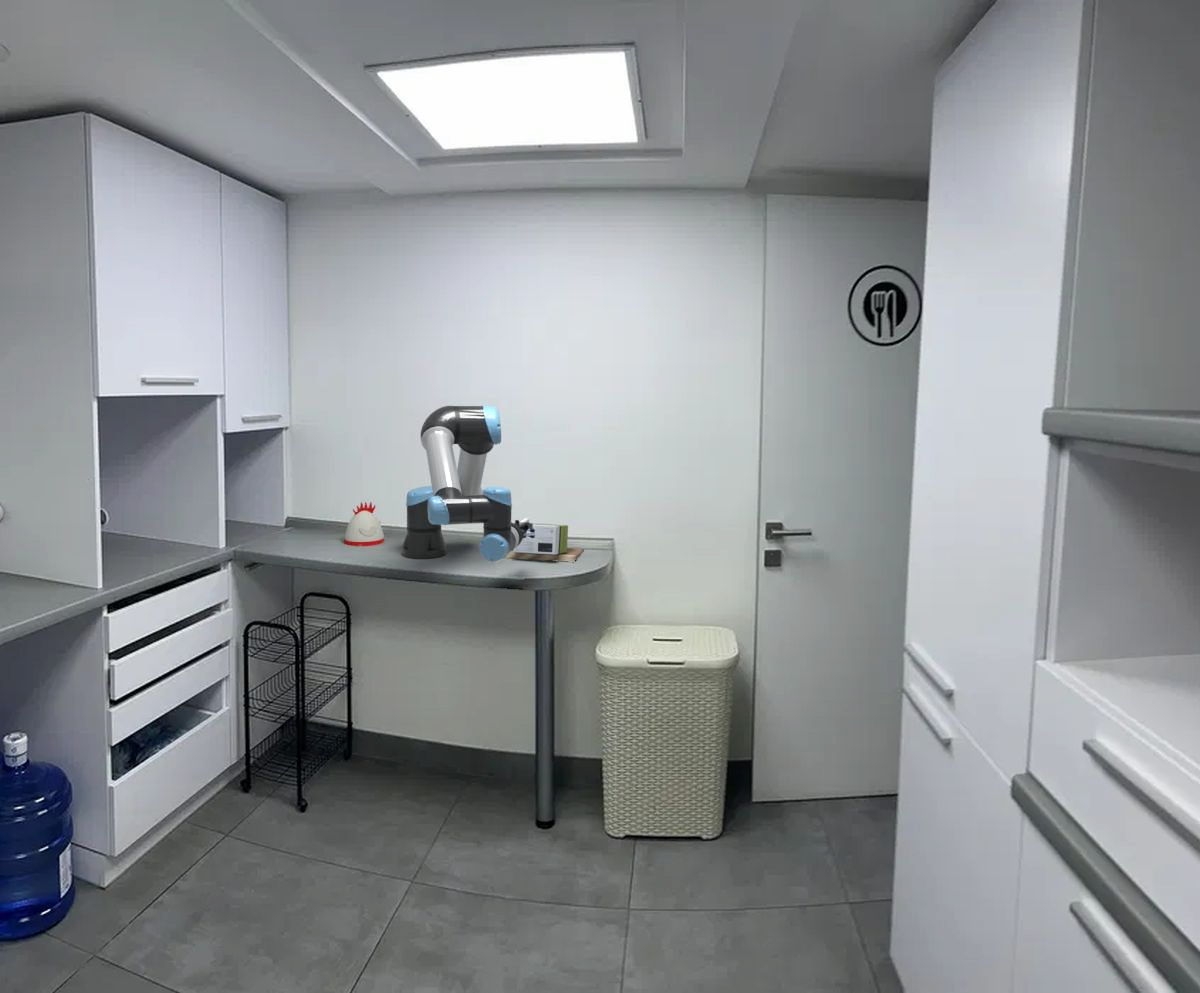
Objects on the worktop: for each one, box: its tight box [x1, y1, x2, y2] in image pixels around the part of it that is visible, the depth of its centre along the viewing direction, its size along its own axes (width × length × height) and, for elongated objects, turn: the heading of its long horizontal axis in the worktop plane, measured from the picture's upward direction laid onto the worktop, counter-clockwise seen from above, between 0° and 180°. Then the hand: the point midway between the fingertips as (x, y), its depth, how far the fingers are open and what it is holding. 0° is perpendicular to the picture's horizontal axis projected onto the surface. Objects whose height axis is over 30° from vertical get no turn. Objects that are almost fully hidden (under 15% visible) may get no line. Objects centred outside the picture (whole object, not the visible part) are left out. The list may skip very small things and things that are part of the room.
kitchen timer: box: [344, 501, 385, 547], centre depth 278 cm, size 14×14×15 cm
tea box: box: [514, 523, 569, 555], centre depth 262 cm, size 15×10×15 cm
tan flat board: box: [504, 547, 585, 562], centre depth 267 cm, size 26×18×2 cm
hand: (526, 522), depth 239 cm, fingers closed
